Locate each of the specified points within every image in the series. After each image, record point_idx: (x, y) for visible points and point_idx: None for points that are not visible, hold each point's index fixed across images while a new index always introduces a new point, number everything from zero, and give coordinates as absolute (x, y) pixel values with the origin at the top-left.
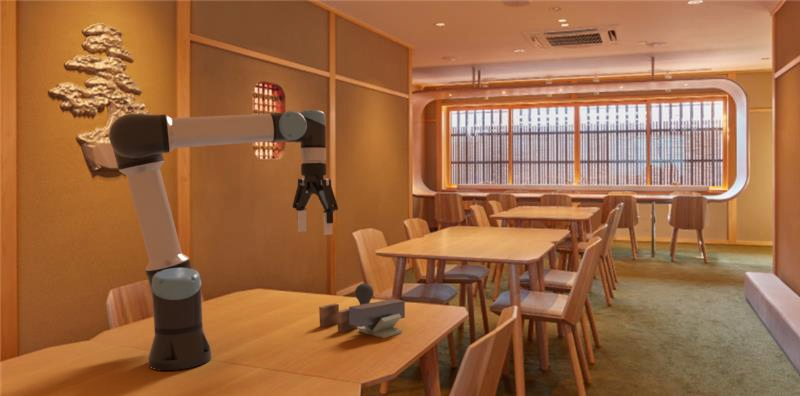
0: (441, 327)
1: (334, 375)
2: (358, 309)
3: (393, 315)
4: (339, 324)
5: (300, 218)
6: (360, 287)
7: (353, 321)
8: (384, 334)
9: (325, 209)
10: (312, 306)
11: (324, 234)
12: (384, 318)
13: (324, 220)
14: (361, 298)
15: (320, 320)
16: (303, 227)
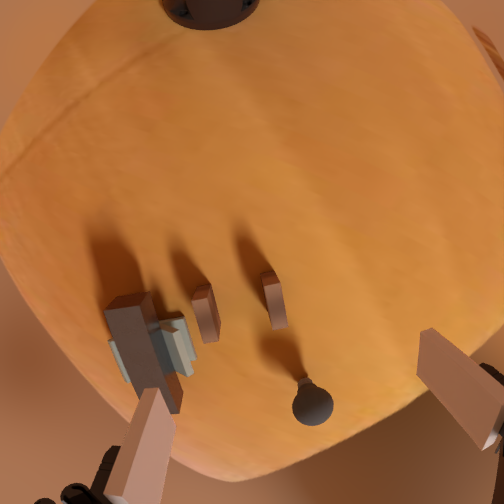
0: None
1: (14, 175)
2: (108, 309)
3: (121, 369)
4: (203, 289)
5: (465, 384)
6: (310, 406)
7: (134, 296)
8: None
9: (62, 501)
10: (423, 318)
11: (150, 389)
12: (112, 347)
13: (124, 450)
14: (300, 391)
15: (273, 274)
16: (429, 369)
